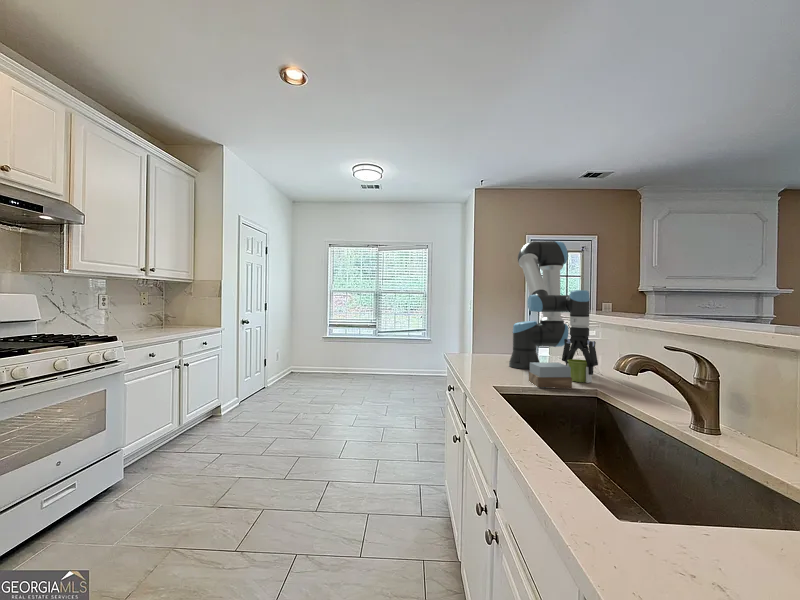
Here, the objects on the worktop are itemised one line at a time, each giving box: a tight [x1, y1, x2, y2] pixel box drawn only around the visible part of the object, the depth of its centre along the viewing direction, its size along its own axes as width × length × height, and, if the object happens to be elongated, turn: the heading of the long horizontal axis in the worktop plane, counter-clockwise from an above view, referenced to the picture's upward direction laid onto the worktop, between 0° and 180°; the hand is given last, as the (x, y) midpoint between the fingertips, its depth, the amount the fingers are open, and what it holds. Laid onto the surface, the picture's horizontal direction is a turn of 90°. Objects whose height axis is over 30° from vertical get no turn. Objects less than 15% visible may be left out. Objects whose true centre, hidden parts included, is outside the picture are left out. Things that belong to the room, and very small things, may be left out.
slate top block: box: [529, 361, 571, 377], centre depth 167 cm, size 12×12×4 cm
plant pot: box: [567, 358, 588, 383], centre depth 175 cm, size 9×9×9 cm
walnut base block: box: [528, 371, 573, 389], centre depth 167 cm, size 13×13×4 cm
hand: (579, 380), depth 175 cm, fingers open, 9 cm apart
